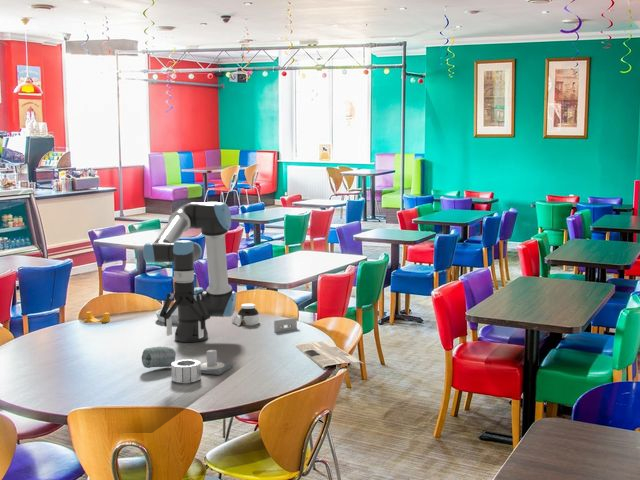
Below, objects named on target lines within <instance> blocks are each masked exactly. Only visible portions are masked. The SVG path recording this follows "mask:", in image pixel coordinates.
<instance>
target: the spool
mask: <svg viewBox="0 0 640 480" xmlns="http://www.w3.org/2000/svg"><path fill="white" fill-rule="evenodd" d="M141 355H142V356H141V363H142V365H143V367H144V368H147V369H150V368H165V367H166V368H169V367H171V363H172V362H174V361H176V351H175V349H174V348H172V347H169V346H153V347H146V348H145V349H143V352H142V354H141Z"/></svg>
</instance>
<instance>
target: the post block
mask: <svg viewBox="0 0 640 480" xmlns="http://www.w3.org/2000/svg"><path fill="white" fill-rule="evenodd" d="M200 363H201V374H204V375H205V374H206V375H217V376H220V375H222V374H223V373H224V372H227V371H228V370H229V369H231V368H233V363H232V362H221V361H218V350H216V349H210V350H209V349H208V350H206V360H205V361H202V362H200Z"/></svg>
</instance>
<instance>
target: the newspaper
mask: <svg viewBox="0 0 640 480" xmlns="http://www.w3.org/2000/svg"><path fill="white" fill-rule="evenodd" d="M293 346H294V347H295V348H297V350H299V351H300V352H301V353H302V354H304V355H305V356H306V357H307V358H308V359H309V360H311V361H312V362H313V363H314V364H316V365H317V366H318V367H320V368H321V369H323V370H327V368H326V367H328V366H329V367H330V366H334V365H341V364H343V365H344V364H352V363H356V364H357V363H358V364H360V365H365V363H364V362H362V361H361V360H359V359H358V358H356V357H354V356H353V355H351V354H349V353H348V352H346V351H345V350H343V349H341V348H340V347H338V346H337V345H335V344H333V343H331V342H330V341H327V340H326V341H325V340H323V341H309V342H300V343H297V344H295V345H293Z"/></svg>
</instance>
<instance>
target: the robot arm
mask: <svg viewBox="0 0 640 480" xmlns="http://www.w3.org/2000/svg"><path fill="white" fill-rule="evenodd" d="M231 227H232V214H231V210H230V207H229V206H228V204H227V203H225V202H221V201H220V202H218V201H207V202H206V201H205V202H199V201H198V202H197V201H192V202H188V203H185V204H183V205H180V206H179V207H178V208H176V209H175V210H173V212H172V213H171V214H170V215H169V217H168V222H167V224H166V225H165V227H164V228H163V229H162V231H161V232H160V233H159V235H158V237H157V238H156V240H155V241H154V242H152V241H151V242H146V243H145V244H144V245H143V248H142V256H143V257H142V258H143V260H144V261H145V262H147V263H148V262H149V263H173V280H174V283H173V289H174V293H173V292H169V293H167V294H166V299H165V302H164V304H163V306H162V308H161V309H162V311H161V313H160V317H164V319H165V323H164V327H166V337H167V336H168V337H169V336H171V335H173V324H172V318H169V317H170V316H171V314H172V313H173V312H174V311H175V309H176V308H177V307H178V324H177V326H176V329H175V332H174V341H177V342H181V343H182V342H183V343H195V342H196V343H197V342H203V341H206V340H208V338H209V333H208V330H207V326H206V321H208V320H209V319H211V317H212V318H213V317H214V318H217V317H218V318H226V317H227V318H230V317H231V316H233V315H234V313H235V310H236V305H237V292H236V291H234V290H233V287H232V285H231V284H229V276H228V263H227V261H228V260H227V249H226V247H227V245H226V234H228V232H229V229H231ZM189 229H190V230H191V229H195V230H196V229H197V230H198V229H199V230H200V231H201V235H202V236H204V239H205V248H206V249H205V250H206V261H207V263H206V265H207V274H208V286H207V288H206V290H204V288H203V287H195V282H194V280H195V270H194V269H195V268H194V266H195V265H194V264H195V262H197V261H199V259H200V258H201V257H202V254H203V249H202V247H201V245H200V244H199V243H197V242H194V241H192V240H187V239H186V240H185V239H184V240H182V239H181V240H180V238H181V237H182V235H183V233H185V232H186V231H188V230H189ZM173 299H174V300H175V301H174V302H173V304H172V305H171V303H172V301H173ZM170 305H171V306H170ZM168 308H170V309H169V311H168V312H167V310H168Z"/></svg>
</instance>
